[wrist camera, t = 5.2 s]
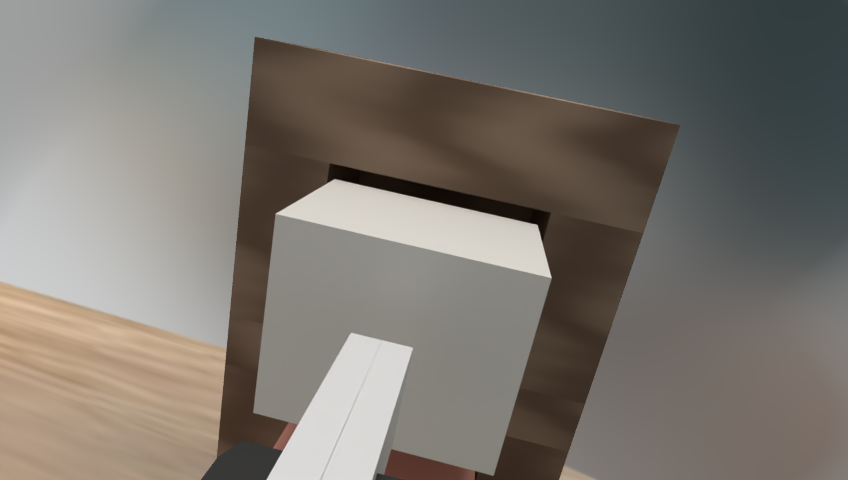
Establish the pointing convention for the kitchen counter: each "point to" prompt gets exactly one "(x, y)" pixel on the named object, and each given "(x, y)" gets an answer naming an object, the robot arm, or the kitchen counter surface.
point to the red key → (404, 464)
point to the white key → (405, 311)
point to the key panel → (457, 186)
